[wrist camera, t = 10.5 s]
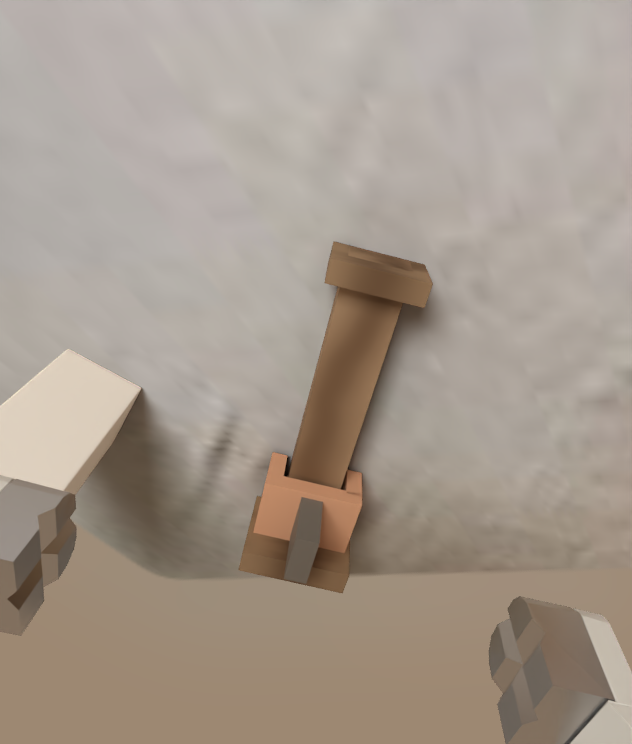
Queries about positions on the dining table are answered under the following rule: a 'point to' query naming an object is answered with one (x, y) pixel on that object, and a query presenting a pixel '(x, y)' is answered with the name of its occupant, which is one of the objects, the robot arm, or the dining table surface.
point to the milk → (63, 422)
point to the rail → (342, 391)
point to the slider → (307, 515)
